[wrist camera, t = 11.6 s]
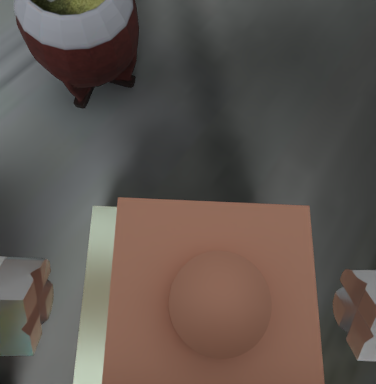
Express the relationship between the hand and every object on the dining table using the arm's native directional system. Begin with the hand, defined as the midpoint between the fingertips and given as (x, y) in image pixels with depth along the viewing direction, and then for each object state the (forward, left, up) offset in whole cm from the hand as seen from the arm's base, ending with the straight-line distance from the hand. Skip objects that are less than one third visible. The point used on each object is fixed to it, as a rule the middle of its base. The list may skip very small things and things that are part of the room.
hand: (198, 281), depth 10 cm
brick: (-1, 0, -7) cm, 7 cm away
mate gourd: (+15, +7, -13) cm, 21 cm away
